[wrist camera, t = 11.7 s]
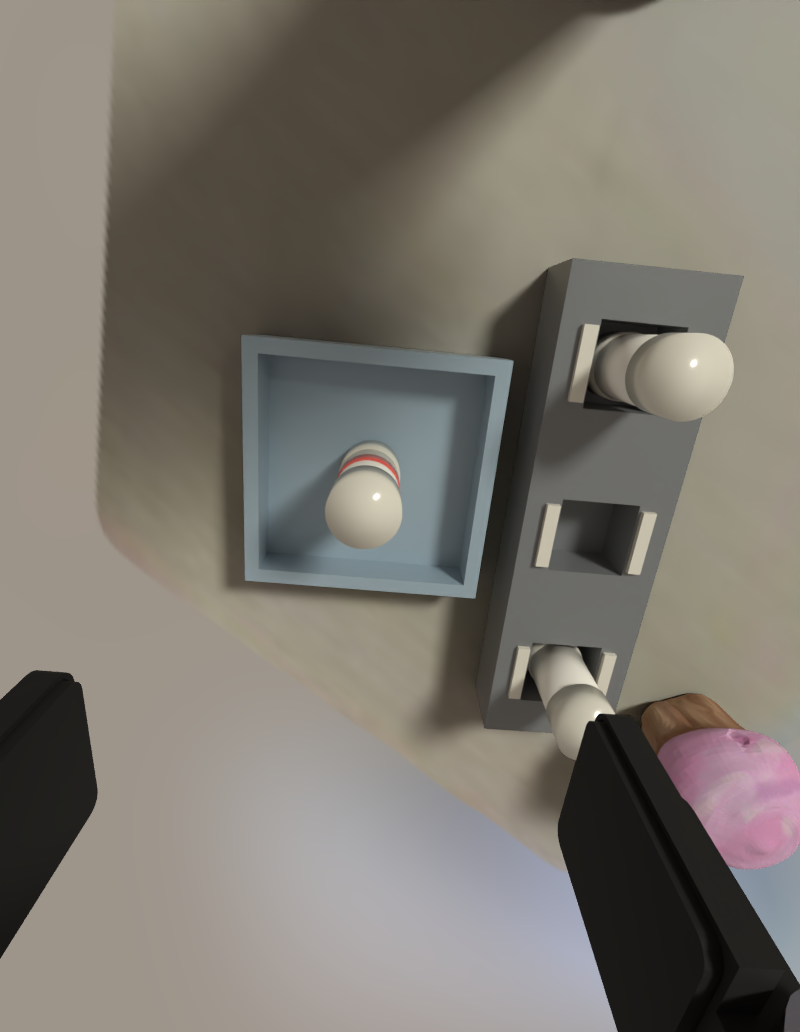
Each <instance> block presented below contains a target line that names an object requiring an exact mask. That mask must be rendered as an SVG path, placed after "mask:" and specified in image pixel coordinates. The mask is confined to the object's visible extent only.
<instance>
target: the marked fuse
mask: <svg viewBox="0 0 800 1032" xmlns="http://www.w3.org/2000/svg"><path fill="white" fill-rule="evenodd" d="M325 518H326V522H327V525H328V527H329V529H330V531H331V533H332V534H333V535H334V536H335V537H336V538H337V539H338V540H339V541H340V542H342V543H343V544H345V545H347V546H349V547H352V548H356V549H372V548H376V547H379V546H382V545H383V544H385V543H387V542H388V541H389V540H391V539H392V538H393V537H394V535H395V534H396V533H397V531H398V529H399V527H400V524H401V521H402V498H401V492H400V465H399V460H398V458H397V456H396V454H395V452H394V451H393V450H392V449H391V448H390V447H389V446H388V445H386V444H384V443H382V442H379V441H375V440H365V441H361V442H359V443H357V444H355V445H353V446H352V447H351V448H350V449H349V450H348V451H347V453H346V454H345V456H344V459H343V461H342V464H341V466H340V469H339V474H338V477H337V479H336V481H335V483H334V484H333V487H332V489H331V492H330V494H329V497H328V499H327V502H326V506H325Z"/></svg>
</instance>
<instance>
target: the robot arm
mask: <svg viewBox="0 0 800 1032" xmlns="http://www.w3.org/2000/svg"><path fill="white" fill-rule="evenodd" d="M96 800H97V783H96V778H95V770H94V764H93V757H92V750H91V745H90V737H89V731H88V724H87V718H86V711H85V704H84V698H83V691H82V686H81V684H80V683H79V682H74V679H73V676H72V675H71V674H69V673H63V672H51V671H38V670H36V671H32V672H30V673H29V674H28V675H26V676H25V677H24V678H23V679H22V680H21V681H20V682H19V683H18V684H17V685H16V686H15V687H13V688H12V689H11V690H10V691H9V692H8V693H7V694H6V695H5V696H4V697H3V698H2V699H1V700H0V958H1V957H2V955H3V953H4V952H5V950H6V949H7V947H8V946H9V944H10V942H11V941H12V939H13V938H14V936H15V934H16V933H17V931H18V930H19V928H20V926H21V925H22V923H23V922H24V920H25V918H26V917H27V915H28V914H29V912H30V910H31V909H32V907H33V906H34V904H35V902H36V901H37V899H38V898H39V896H40V894H41V893H42V891H43V890H44V888H45V886H46V885H47V883H48V881H49V880H50V878H51V877H52V875H53V874H54V872H55V870H56V869H57V867H58V866H59V864H60V863H61V861H62V859H63V858H64V856H65V855H66V853H67V851H68V850H69V848H70V846H71V845H72V843H73V842H74V840H75V839H76V837H77V835H78V834H79V832H80V830H81V829H82V827H83V826H84V824H85V823H86V821H87V819H88V818H89V816H90V814H91V813H92V811H93V809H94V806H95V803H96ZM558 838H559V843H560V847H561V850H562V854H563V857H564V860H565V863H566V866H567V870H568V873H569V876H570V879H571V883H572V886H573V889H574V892H575V895H576V899H577V902H578V905H579V908H580V911H581V915H582V918H583V921H584V924H585V927H586V931H587V934H588V937H589V941H590V944H591V947H592V950H593V953H594V957H595V960H596V963H597V966H598V970H599V973H600V976H601V979H602V982H603V985H604V989H605V992H606V995H607V998H608V1002H609V1005H610V1008H611V1011H612V1014H613V1018H614V1021H615V1024H616V1027H617V1031H618V1032H800V984H799V982H798V981H797V979H796V977H795V976H794V974H793V973H792V971H791V970H790V968H789V966H788V964H787V963H786V961H785V960H784V958H783V956H782V954H781V953H780V951H779V950H778V948H777V946H776V945H775V943H774V941H773V940H772V938H771V936H770V935H769V933H768V931H767V930H766V928H765V927H764V925H763V923H762V922H761V920H760V918H759V917H758V915H757V913H756V912H755V910H754V908H753V907H752V905H751V904H750V902H749V900H748V899H747V897H746V895H745V894H744V892H743V890H742V889H741V887H740V885H739V884H738V882H737V880H736V879H735V877H734V876H733V874H732V872H731V871H730V869H729V867H728V866H727V864H726V862H725V861H724V859H723V857H722V856H721V854H720V853H719V851H718V849H717V848H716V846H715V844H714V843H713V841H712V839H711V838H710V836H709V834H708V833H707V831H706V829H705V828H704V826H703V825H702V823H701V821H700V820H699V818H698V816H697V815H696V813H695V811H694V810H693V809H692V807H691V806H690V805H689V803H688V802H687V801H686V800H684V799H683V798H682V797H681V795H680V793H679V792H678V790H677V788H676V787H675V785H674V783H673V782H672V780H671V778H670V777H669V775H668V773H667V772H666V770H665V768H664V767H663V765H662V763H661V762H660V760H659V758H658V757H657V755H656V753H655V752H654V750H653V748H652V747H651V745H650V743H649V742H648V740H647V738H646V737H645V735H644V733H643V732H642V730H641V728H640V727H639V725H638V723H637V722H636V720H635V719H634V718H633V717H631V716H629V715H616V714H598V715H597V716H596V719H595V721H589V722H588V723H587V725H586V727H585V731H584V734H583V738H582V741H581V745H580V748H579V752H578V755H577V759H576V762H575V766H574V769H573V773H572V776H571V780H570V783H569V787H568V790H567V794H566V797H565V801H564V804H563V808H562V811H561V815H560V818H559V822H558Z"/></svg>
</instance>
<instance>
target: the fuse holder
mask: <svg viewBox="0 0 800 1032" xmlns="http://www.w3.org/2000/svg"><path fill="white" fill-rule="evenodd" d="M743 278H744V276H739V275H730V274H720V273H710V272H701V271H691V270H682V269H672V268H662V267H653V266H643V265H634V264H624V263H614V262H605V261H595V260H586V259H576V258H572V259H570V260H567V261H565V262H562V263H559V264H557V265H554V266H552V267H549V268H548V272H547V278H546V284H545V290H544V295H543V301H542V307H541V313H540V318H539V324H538V330H537V336H536V341H535V347H534V353H533V359H532V364H531V370H530V376H529V381H528V387H527V393H526V399H525V404H524V410H523V416H522V422H521V427H520V433H519V439H518V445H517V450H516V456H515V462H514V468H513V473H512V479H511V485H510V491H509V496H508V502H507V508H506V514H505V519H504V525H503V531H502V537H501V542H500V548H499V554H498V560H497V565H496V571H495V577H494V583H493V588H492V594H491V600H490V606H489V611H488V617H487V623H486V629H485V634H484V640H483V646H482V652H481V657H480V663H479V669H478V675H477V680H476V686H475V687H476V692H477V696H478V701H479V706H480V710H481V715H482V719H483V724H484V728H487V729H501V730H516V731H530V732H545V733H553V732H552V729H551V727H550V724H549V722H548V719H547V716H546V709H545V706H544V704H543V701H542V699H541V696H540V694H539V691H538V688H537V686H536V683H535V681H534V679H533V678H532V676H531V675H530V672H529V670H528V662H529V658H530V653H531V648H532V644H533V643H544V644H557V645H570V646H577V647H578V649H579V651H580V652H581V654H582V658H583V661H584V663H585V665H586V666H587V668H588V670H589V672H590V674H591V675H592V677H593V679H594V681H595V682H596V684H597V686H598V688H599V690H601V691H602V692H603V694H604V695H605V697H606V698H607V700H608V702H609V704H610V705H611V707H612V709H613V711H614V712H615V710H616V707H617V704H618V700H619V697H620V693H621V690H622V687H623V683H624V680H625V676H626V673H627V670H628V666H629V663H630V660H631V656H632V653H633V649H634V646H635V643H636V639H637V636H638V633H639V629H640V626H641V622H642V619H643V616H644V612H645V609H646V606H647V602H648V599H649V595H650V592H651V589H652V585H653V582H654V579H655V575H656V572H657V568H658V565H659V562H660V558H661V555H662V552H663V548H664V545H665V541H666V538H667V535H668V531H669V528H670V525H671V521H672V518H673V514H674V511H675V508H676V504H677V501H678V498H679V494H680V491H681V487H682V484H683V481H684V477H685V474H686V470H687V467H688V464H689V460H690V457H691V454H692V450H693V447H694V443H695V440H696V437H697V433H698V430H699V427H700V423H701V420H702V417H701V418H698V419H695V420H692V421H686V422H677V421H672V420H668V419H665V418H662V417H660V416H657V415H654V414H651V413H648V412H645V411H643V410H641V409H639V408H638V407H637V406H634V405H631V404H628V403H625V402H617V401H612V400H609V399H606V398H603V397H600V396H597V395H595V394H593V393H591V392H589V391H588V390H587V386H588V382H589V377H590V372H591V368H592V363H593V358H594V354H595V349H596V344H597V340H598V336H599V335H601V334H604V333H607V332H637V333H641V334H650V335H660V334H663V333H670V332H671V333H705V334H709V335H712V336H715V337H717V338H718V339H720V340H721V341H722V342H723V343H724V342H725V339H726V335H727V332H728V329H729V325H730V322H731V319H732V315H733V312H734V308H735V305H736V302H737V298H738V295H739V291H740V288H741V285H742V281H743Z"/></svg>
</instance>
